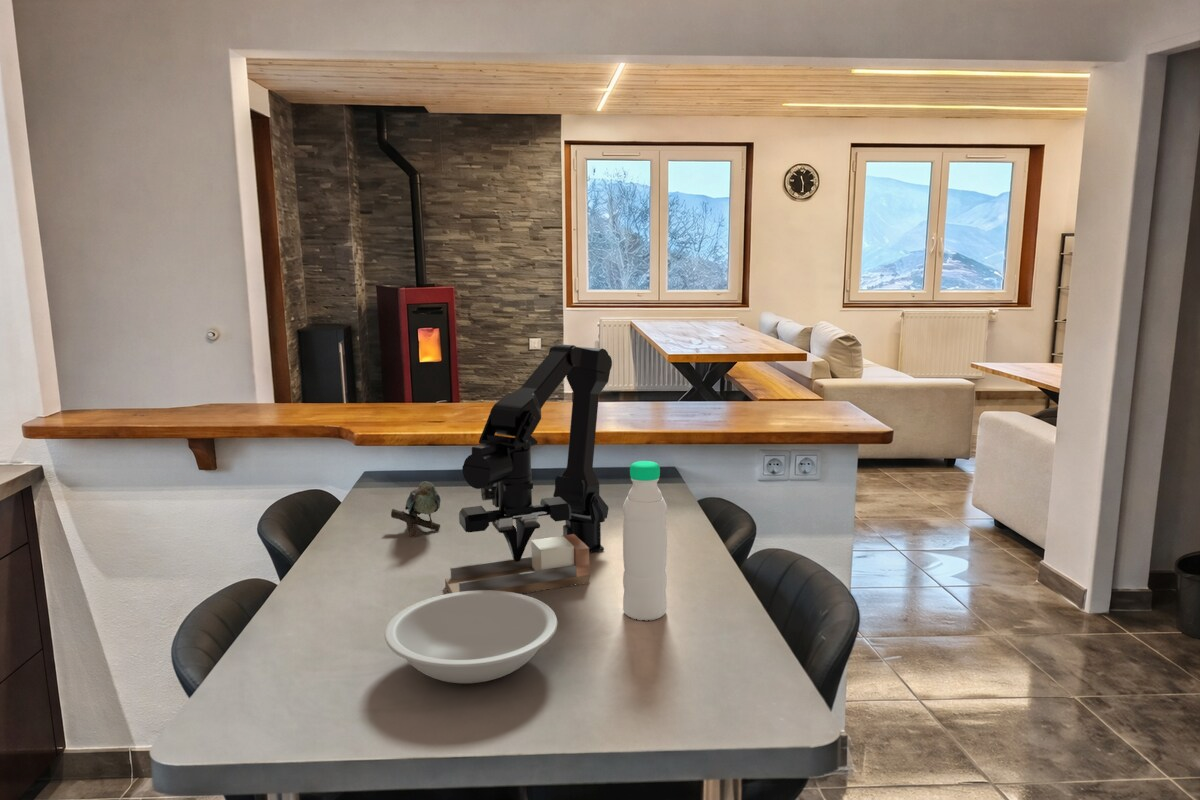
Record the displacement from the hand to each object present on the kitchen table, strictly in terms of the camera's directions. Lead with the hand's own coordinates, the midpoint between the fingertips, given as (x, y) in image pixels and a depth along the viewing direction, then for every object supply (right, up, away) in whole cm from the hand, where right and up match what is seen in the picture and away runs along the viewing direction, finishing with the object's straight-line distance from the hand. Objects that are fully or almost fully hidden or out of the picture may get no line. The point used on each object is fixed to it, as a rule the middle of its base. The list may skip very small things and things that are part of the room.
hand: (516, 560), depth 149 cm
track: (0, -4, +1) cm, 5 cm away
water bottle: (+22, -7, -11) cm, 25 cm away
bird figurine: (-24, 0, +30) cm, 38 cm away
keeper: (+6, -2, +3) cm, 7 cm away
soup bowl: (-3, -10, -28) cm, 30 cm away
